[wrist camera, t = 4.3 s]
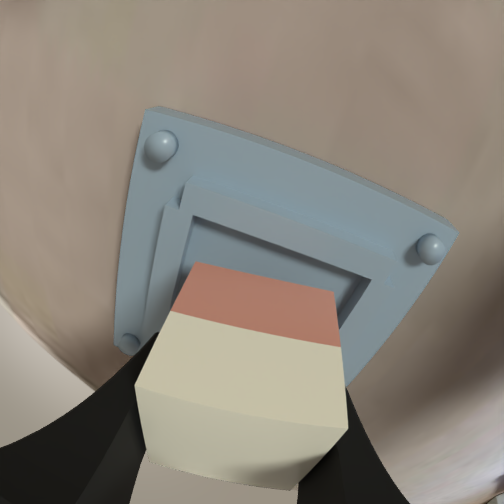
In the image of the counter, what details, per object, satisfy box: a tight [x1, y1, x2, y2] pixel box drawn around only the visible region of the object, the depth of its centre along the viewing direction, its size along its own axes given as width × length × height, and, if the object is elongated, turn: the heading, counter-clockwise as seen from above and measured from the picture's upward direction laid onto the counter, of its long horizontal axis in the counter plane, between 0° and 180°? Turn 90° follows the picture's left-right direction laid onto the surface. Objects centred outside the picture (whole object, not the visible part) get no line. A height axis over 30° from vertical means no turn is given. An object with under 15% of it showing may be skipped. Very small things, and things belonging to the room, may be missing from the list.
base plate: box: [114, 106, 459, 387], centre depth 13 cm, size 12×12×2 cm
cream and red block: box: [135, 261, 348, 491], centre depth 9 cm, size 4×4×5 cm
